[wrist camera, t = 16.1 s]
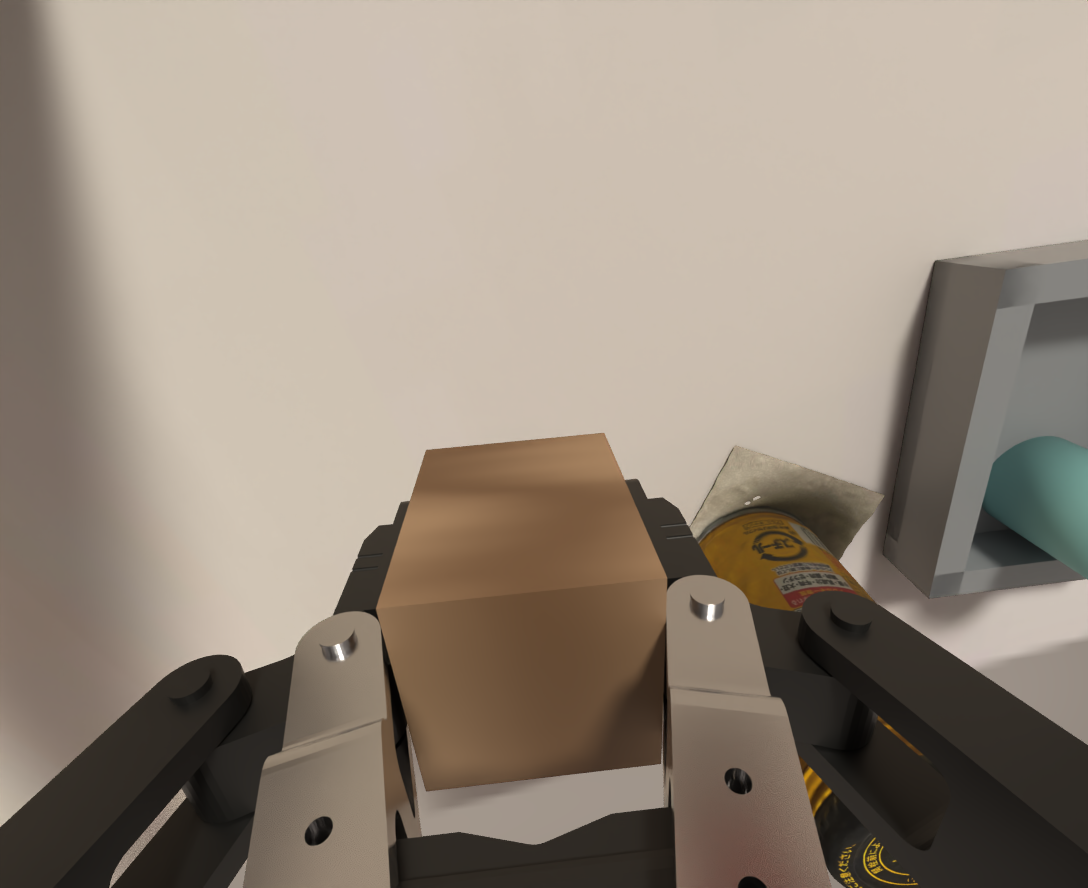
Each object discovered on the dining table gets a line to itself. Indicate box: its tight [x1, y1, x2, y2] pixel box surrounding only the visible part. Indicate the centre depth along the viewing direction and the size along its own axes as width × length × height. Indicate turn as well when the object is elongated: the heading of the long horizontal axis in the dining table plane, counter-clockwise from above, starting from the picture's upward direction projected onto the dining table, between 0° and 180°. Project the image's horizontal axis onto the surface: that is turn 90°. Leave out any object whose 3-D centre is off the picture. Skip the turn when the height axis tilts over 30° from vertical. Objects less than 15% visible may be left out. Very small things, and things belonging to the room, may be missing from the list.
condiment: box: [690, 446, 943, 888], centre depth 18 cm, size 7×8×12 cm
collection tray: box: [883, 240, 1088, 599], centre depth 20 cm, size 10×13×3 cm
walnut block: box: [376, 433, 667, 791], centre depth 10 cm, size 4×4×5 cm
